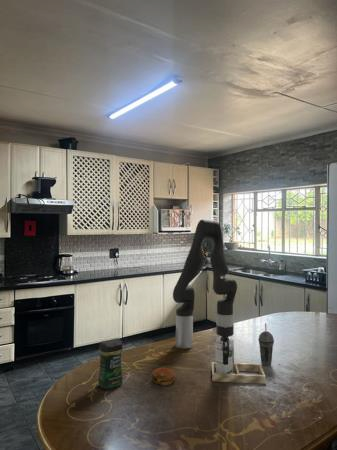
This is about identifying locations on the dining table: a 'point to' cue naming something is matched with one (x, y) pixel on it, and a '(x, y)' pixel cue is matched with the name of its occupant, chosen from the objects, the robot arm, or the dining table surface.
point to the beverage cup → (266, 347)
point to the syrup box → (219, 358)
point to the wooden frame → (238, 377)
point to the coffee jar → (110, 363)
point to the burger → (164, 376)
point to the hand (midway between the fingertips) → (224, 360)
